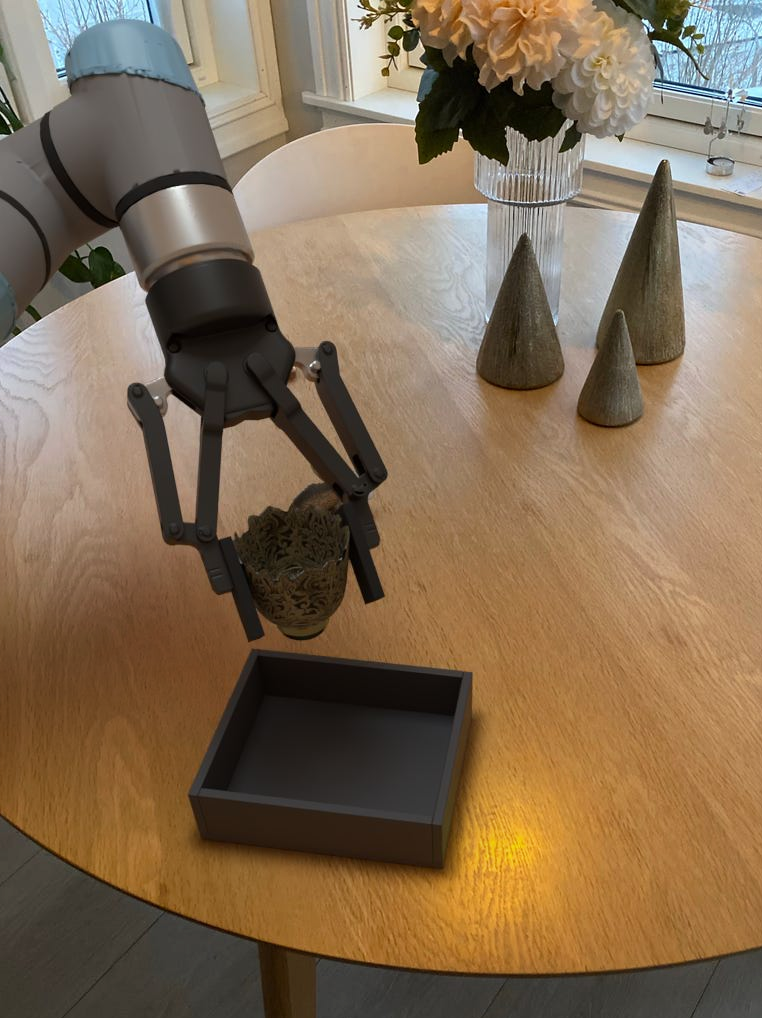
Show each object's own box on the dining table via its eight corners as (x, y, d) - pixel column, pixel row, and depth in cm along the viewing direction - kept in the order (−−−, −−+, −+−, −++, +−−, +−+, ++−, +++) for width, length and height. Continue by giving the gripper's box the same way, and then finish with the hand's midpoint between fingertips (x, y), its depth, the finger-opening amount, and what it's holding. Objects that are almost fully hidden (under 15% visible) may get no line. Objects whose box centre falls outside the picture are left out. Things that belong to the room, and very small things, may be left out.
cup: (289, 580, 72) (275, 489, 67) (376, 610, 70) (370, 519, 65) (227, 643, 67) (207, 551, 62) (320, 678, 65) (307, 585, 60)
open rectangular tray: (200, 839, 70) (187, 794, 67) (260, 693, 81) (251, 647, 77) (443, 869, 69) (442, 825, 65) (472, 716, 79) (472, 671, 76)
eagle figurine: (291, 494, 99) (268, 534, 91) (327, 439, 95) (305, 476, 88) (356, 535, 101) (338, 578, 93) (393, 483, 97) (378, 523, 90)
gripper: (337, 275, 70) (440, 581, 71) (40, 334, 63) (158, 672, 64) (361, 226, 63) (475, 566, 64) (30, 285, 56) (163, 666, 57)
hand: (317, 618), depth 64 cm, fingers closed on cup, 7 cm apart
